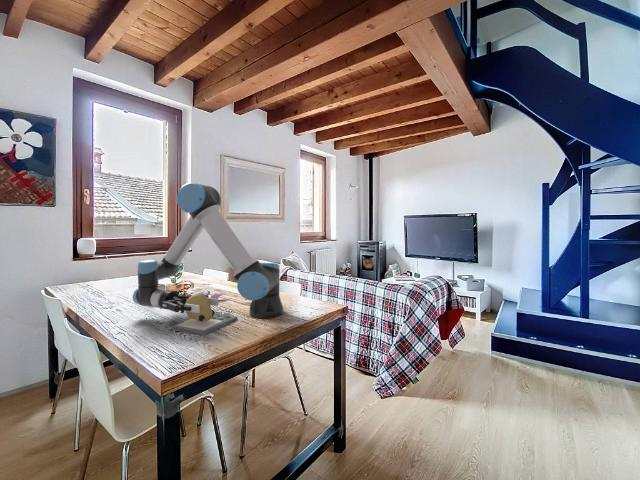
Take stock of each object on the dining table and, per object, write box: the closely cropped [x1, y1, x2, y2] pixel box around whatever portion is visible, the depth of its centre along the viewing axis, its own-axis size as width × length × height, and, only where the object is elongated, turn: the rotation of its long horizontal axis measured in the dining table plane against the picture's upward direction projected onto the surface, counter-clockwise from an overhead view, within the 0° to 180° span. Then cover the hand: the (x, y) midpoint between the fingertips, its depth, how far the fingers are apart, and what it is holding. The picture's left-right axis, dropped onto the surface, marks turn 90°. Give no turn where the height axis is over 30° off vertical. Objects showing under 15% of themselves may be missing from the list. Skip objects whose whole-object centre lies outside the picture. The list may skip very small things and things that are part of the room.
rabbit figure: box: [205, 290, 227, 300], centre depth 161 cm, size 6×6×15 cm
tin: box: [158, 283, 167, 290], centre depth 160 cm, size 15×3×8 cm, turn 4°
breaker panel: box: [170, 310, 238, 336], centre depth 126 cm, size 16×20×3 cm
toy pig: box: [184, 292, 216, 322], centre depth 122 cm, size 10×12×11 cm
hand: (208, 305), depth 121 cm, fingers closed on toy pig, 10 cm apart
